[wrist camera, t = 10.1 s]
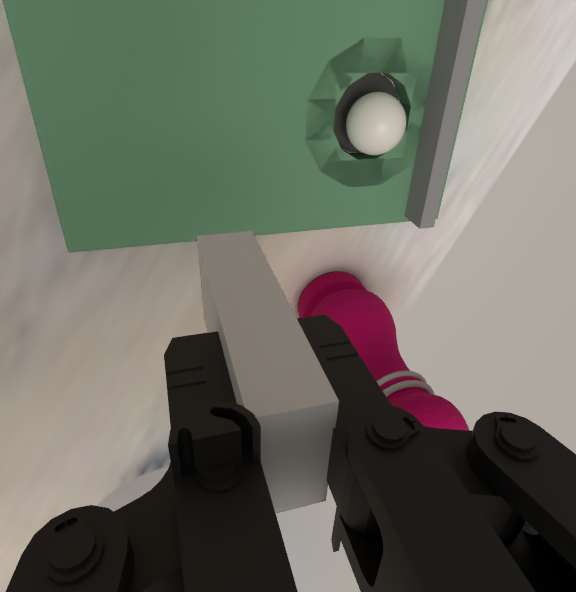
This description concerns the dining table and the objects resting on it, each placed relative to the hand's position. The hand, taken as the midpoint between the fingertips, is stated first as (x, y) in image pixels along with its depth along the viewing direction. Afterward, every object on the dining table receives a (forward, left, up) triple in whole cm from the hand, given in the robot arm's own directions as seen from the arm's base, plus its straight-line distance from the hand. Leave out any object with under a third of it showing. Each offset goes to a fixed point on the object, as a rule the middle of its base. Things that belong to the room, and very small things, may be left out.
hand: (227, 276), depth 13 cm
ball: (+13, 0, -18) cm, 22 cm away
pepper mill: (+12, -16, -20) cm, 29 cm away
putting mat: (+6, 0, -20) cm, 21 cm away
